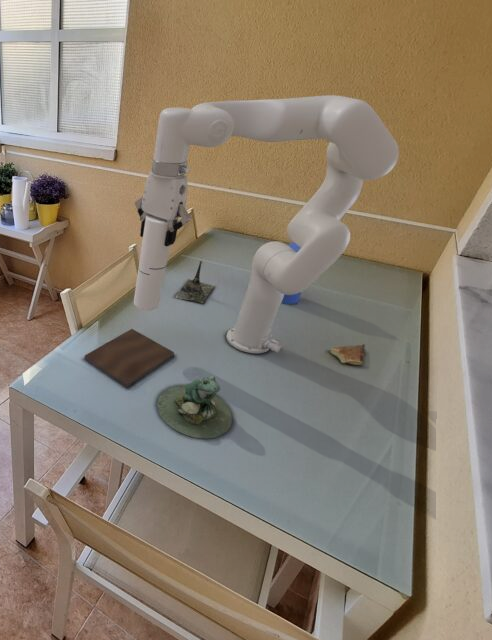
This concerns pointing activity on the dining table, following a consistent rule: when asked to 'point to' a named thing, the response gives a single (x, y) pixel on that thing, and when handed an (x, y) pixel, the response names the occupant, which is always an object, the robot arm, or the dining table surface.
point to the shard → (349, 354)
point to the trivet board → (129, 357)
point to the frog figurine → (195, 409)
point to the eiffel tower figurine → (195, 289)
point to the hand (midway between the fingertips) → (156, 239)
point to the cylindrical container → (152, 263)
